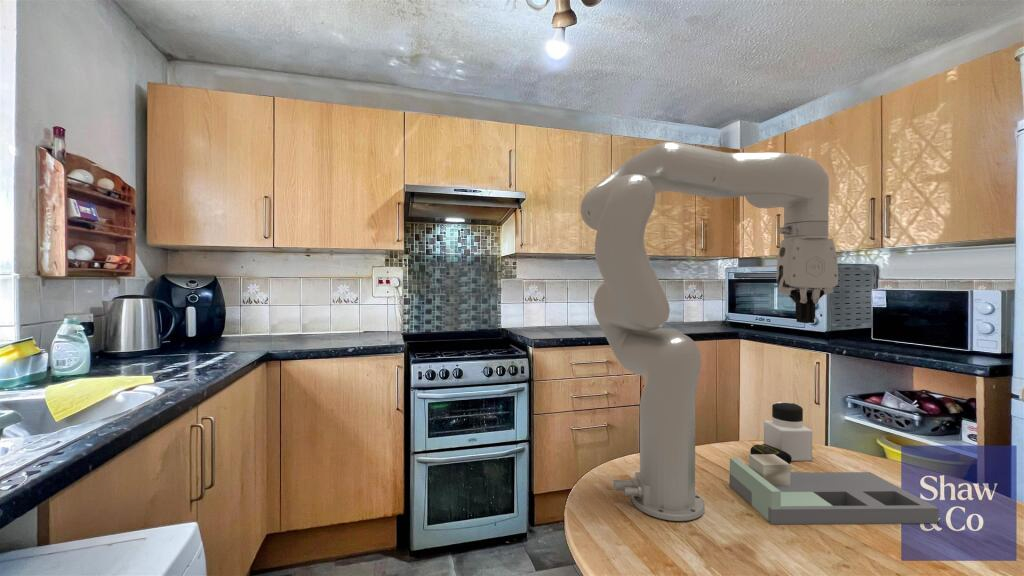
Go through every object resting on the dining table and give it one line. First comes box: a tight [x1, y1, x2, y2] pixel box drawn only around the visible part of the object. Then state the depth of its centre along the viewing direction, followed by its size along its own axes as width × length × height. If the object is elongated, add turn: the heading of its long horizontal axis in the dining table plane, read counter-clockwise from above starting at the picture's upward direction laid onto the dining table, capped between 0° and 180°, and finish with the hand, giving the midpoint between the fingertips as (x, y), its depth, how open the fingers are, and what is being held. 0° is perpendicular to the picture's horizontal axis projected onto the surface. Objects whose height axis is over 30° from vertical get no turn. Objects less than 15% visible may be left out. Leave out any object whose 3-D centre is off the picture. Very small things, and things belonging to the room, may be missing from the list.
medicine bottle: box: [763, 401, 813, 462], centre depth 102 cm, size 7×7×12 cm
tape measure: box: [749, 443, 793, 465], centre depth 97 cm, size 7×7×4 cm
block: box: [748, 453, 791, 486], centre depth 84 cm, size 5×5×4 cm
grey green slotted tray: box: [729, 457, 940, 525], centre depth 80 cm, size 28×14×6 cm, turn 90°
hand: (805, 322), depth 90 cm, fingers closed
